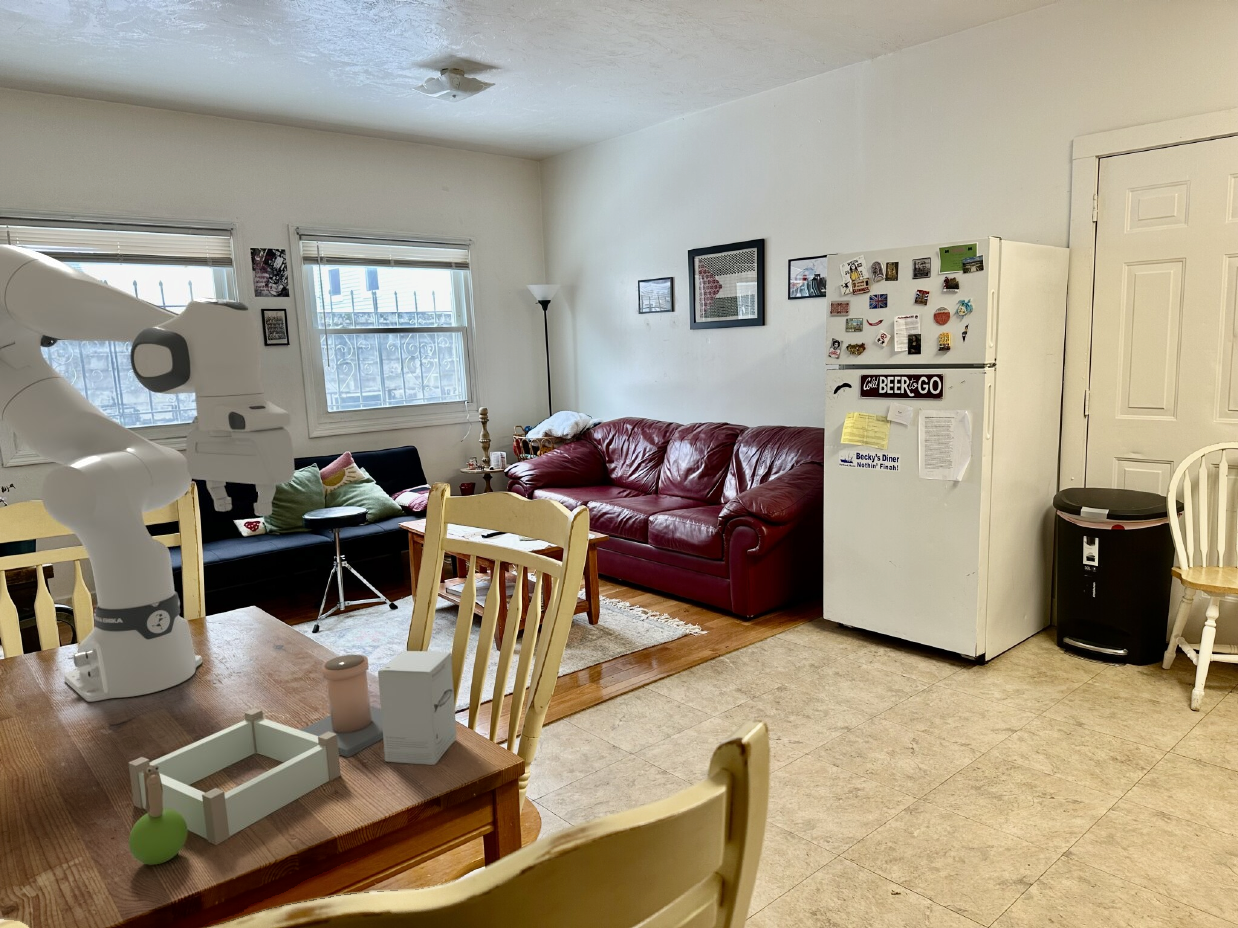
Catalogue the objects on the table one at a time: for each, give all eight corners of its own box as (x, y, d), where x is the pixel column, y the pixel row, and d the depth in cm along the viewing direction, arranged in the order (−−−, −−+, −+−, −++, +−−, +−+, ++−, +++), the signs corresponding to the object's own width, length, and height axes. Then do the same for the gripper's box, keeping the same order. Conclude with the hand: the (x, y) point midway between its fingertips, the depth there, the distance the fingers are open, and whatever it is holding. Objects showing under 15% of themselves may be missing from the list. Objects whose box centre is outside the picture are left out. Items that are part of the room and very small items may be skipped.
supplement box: (436, 766, 105) (429, 672, 104) (383, 762, 107) (375, 669, 105) (459, 739, 112) (452, 650, 111) (408, 736, 114) (401, 648, 112)
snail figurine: (136, 887, 83) (121, 776, 82) (129, 857, 88) (115, 752, 87) (195, 865, 86) (182, 759, 85) (185, 838, 92) (173, 736, 90)
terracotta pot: (319, 730, 115) (311, 667, 114) (351, 711, 120) (344, 651, 119) (352, 736, 112) (344, 672, 111) (384, 717, 117) (376, 655, 116)
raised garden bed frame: (134, 805, 99) (128, 762, 98) (259, 745, 113) (254, 707, 112) (216, 845, 90) (210, 798, 89) (340, 774, 104) (336, 733, 103)
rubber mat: (295, 739, 114) (294, 732, 114) (357, 708, 124) (357, 702, 123) (348, 757, 109) (347, 750, 108) (409, 723, 118) (409, 716, 118)
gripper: (169, 417, 118) (180, 511, 120) (256, 418, 107) (267, 522, 109) (210, 413, 123) (220, 503, 125) (298, 414, 112) (307, 513, 114)
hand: (243, 512), depth 117 cm, fingers open, 8 cm apart
